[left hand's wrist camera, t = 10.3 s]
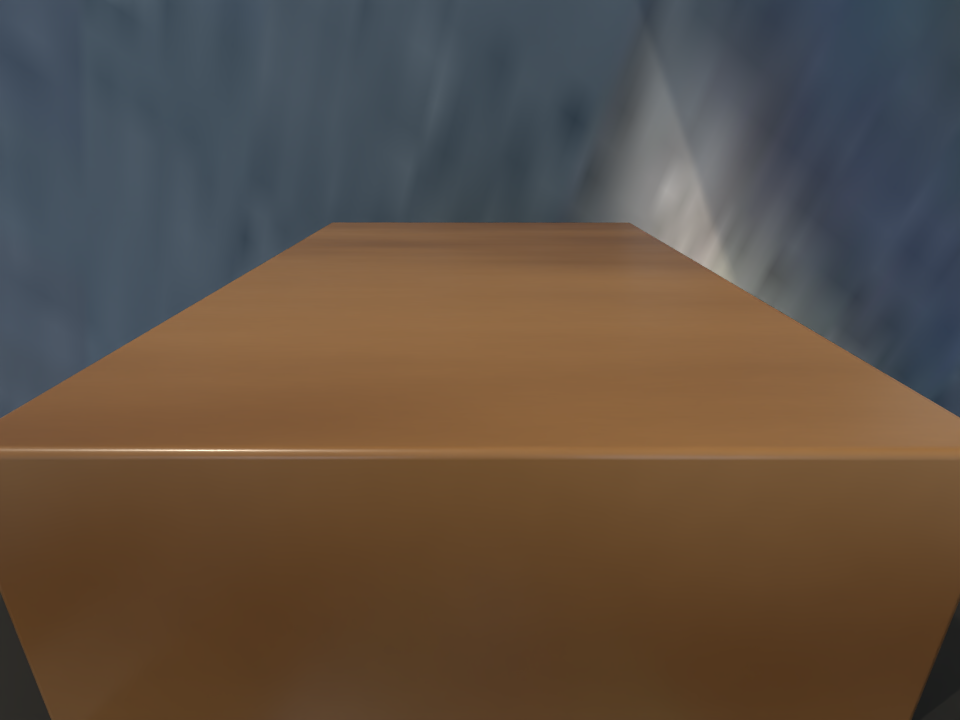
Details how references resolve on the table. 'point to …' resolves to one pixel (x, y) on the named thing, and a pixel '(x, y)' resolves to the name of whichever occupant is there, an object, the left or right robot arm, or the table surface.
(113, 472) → the box
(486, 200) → the table surface
